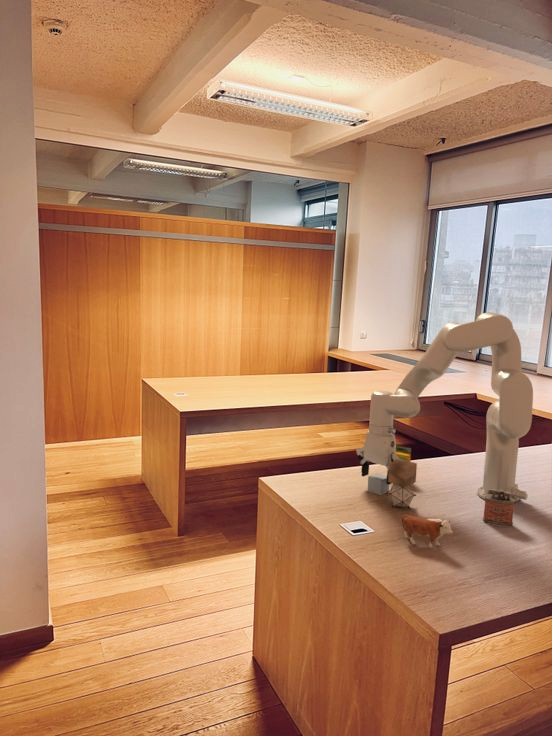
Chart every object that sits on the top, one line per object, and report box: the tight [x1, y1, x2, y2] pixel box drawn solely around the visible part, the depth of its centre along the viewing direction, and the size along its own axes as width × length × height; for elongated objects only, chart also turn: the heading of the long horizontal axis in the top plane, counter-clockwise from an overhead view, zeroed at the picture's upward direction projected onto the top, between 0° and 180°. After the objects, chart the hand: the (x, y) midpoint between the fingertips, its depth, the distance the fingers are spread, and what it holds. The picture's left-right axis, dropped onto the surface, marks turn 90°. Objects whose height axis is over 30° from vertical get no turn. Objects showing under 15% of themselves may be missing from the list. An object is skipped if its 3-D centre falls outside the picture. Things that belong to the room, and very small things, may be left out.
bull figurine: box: [401, 514, 454, 550], centre depth 144 cm, size 4×13×8 cm, turn 58°
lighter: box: [482, 489, 516, 528], centre depth 158 cm, size 8×3×10 cm, turn 71°
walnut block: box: [388, 459, 418, 487], centre depth 168 cm, size 6×6×6 cm
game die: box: [386, 483, 417, 510], centre depth 169 cm, size 9×8×10 cm
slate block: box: [367, 472, 390, 496], centre depth 181 cm, size 5×5×5 cm
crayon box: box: [386, 445, 412, 473], centre depth 192 cm, size 7×3×12 cm, turn 58°
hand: (377, 479), depth 181 cm, fingers open, 9 cm apart
